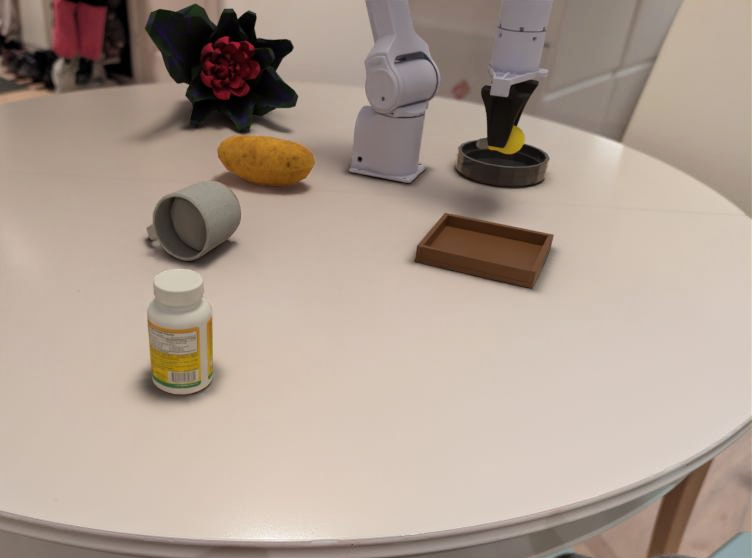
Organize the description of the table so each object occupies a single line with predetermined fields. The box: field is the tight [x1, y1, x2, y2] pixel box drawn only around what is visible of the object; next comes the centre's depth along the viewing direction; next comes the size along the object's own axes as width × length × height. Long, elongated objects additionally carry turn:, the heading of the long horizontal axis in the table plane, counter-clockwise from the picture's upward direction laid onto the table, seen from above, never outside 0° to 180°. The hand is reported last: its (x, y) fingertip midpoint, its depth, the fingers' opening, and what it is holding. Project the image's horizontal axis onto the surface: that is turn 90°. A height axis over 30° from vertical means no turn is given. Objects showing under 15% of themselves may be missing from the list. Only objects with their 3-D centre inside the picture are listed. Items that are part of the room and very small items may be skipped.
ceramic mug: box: [146, 180, 242, 262], centre depth 85 cm, size 11×8×8 cm
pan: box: [455, 139, 550, 188], centre depth 110 cm, size 13×13×3 cm
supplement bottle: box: [146, 268, 214, 395], centre depth 62 cm, size 5×5×10 cm
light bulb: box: [476, 125, 526, 154], centre depth 95 cm, size 3×6×4 cm, turn 71°
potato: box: [216, 134, 316, 187], centre depth 103 cm, size 8×14×7 cm, turn 65°
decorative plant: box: [144, 3, 299, 133], centre depth 123 cm, size 21×26×30 cm
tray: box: [414, 212, 555, 289], centre depth 86 cm, size 13×11×2 cm
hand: (499, 142), depth 95 cm, fingers closed on light bulb, 3 cm apart
